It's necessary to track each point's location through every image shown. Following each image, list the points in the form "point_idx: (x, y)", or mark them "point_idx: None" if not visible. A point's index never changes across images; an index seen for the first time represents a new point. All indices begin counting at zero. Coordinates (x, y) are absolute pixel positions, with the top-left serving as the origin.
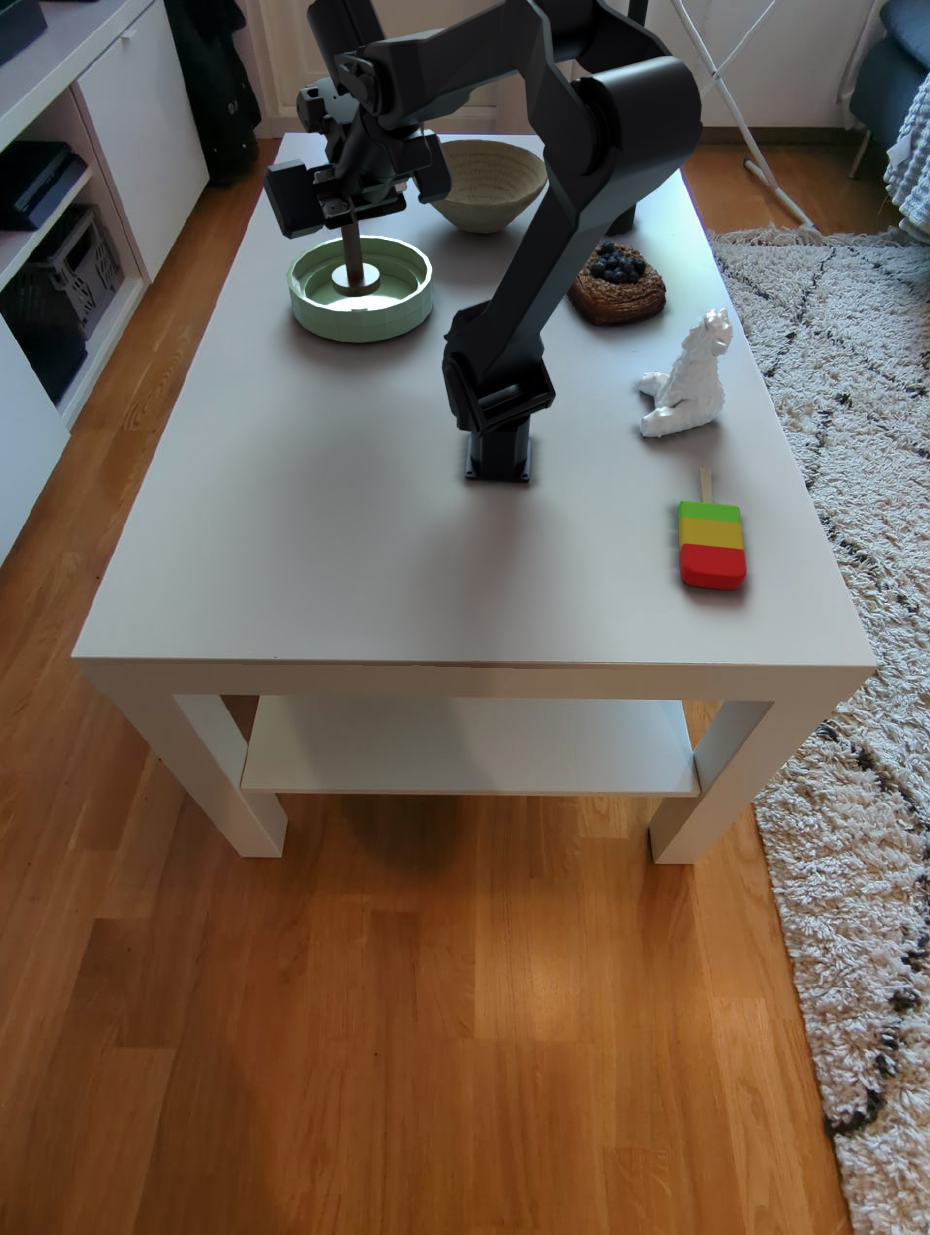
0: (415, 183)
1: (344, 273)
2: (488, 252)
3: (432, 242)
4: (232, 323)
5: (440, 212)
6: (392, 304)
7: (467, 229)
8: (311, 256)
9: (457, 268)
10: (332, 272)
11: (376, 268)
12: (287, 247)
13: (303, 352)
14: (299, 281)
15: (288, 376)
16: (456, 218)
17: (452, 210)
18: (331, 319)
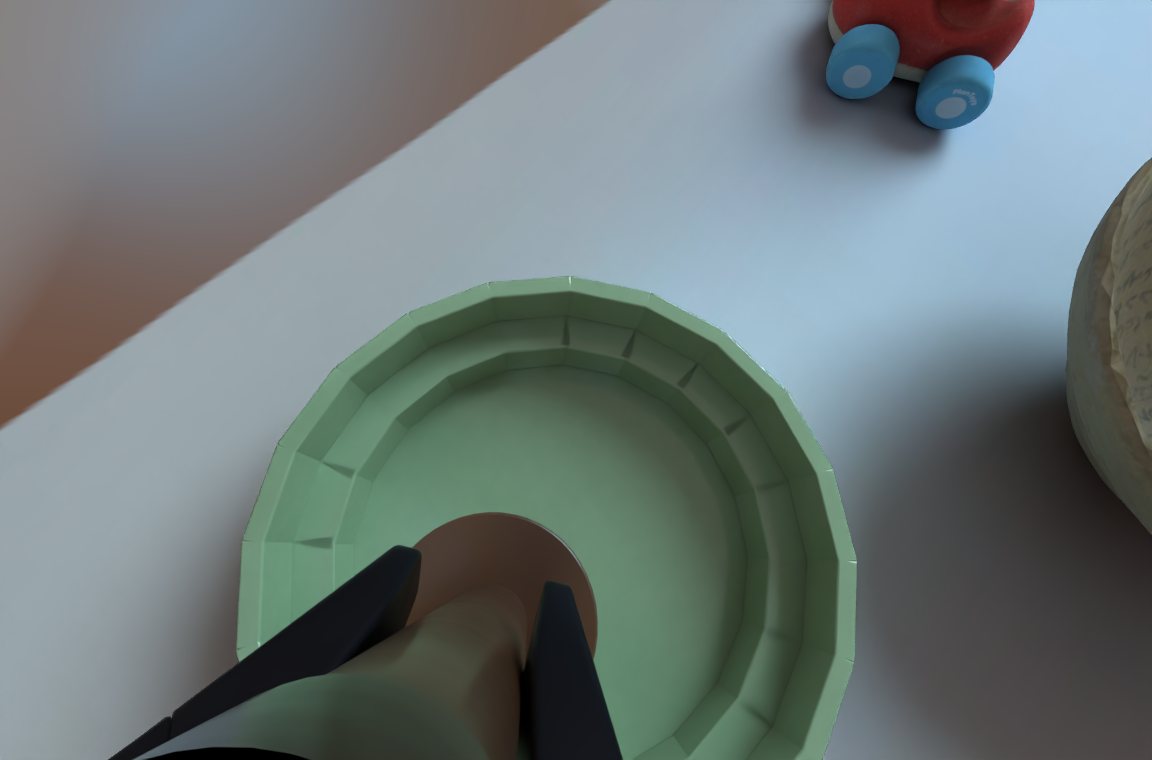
0: (1096, 275)
1: (458, 580)
2: (1089, 573)
3: (956, 393)
4: (194, 338)
5: (1072, 393)
6: None
7: (1100, 476)
8: (516, 304)
9: (946, 581)
10: (571, 360)
11: (593, 648)
12: (587, 134)
13: (217, 641)
14: (417, 365)
15: (69, 735)
16: (1109, 479)
17: (1133, 500)
18: None
